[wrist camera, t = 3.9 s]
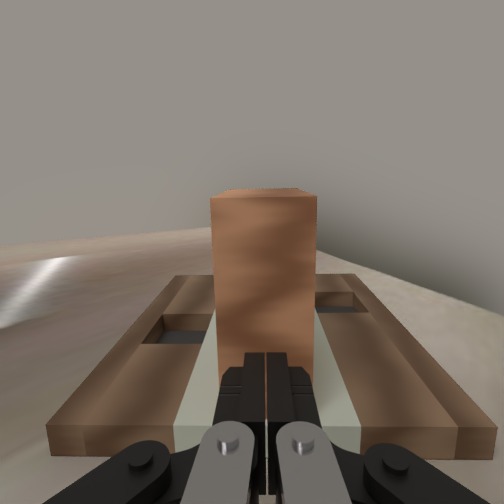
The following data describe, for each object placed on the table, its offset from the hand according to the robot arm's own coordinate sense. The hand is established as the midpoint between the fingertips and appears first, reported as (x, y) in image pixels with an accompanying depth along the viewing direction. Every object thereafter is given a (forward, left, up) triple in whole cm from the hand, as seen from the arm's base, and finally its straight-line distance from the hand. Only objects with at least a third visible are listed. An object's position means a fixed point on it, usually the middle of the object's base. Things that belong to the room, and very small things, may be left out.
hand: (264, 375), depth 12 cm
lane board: (0, +19, -8) cm, 20 cm away
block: (0, +10, -6) cm, 12 cm away
